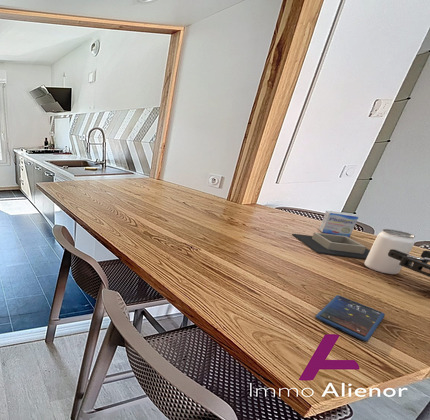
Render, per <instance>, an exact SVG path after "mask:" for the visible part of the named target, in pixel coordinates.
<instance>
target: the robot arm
mask: <svg viewBox="0 0 430 420" xmlns="http://www.w3.org/2000/svg"><path fill="white" fill-rule="evenodd" d="M388 256H389V257H392V258H394V259H397V260H399V261H401V262H400V263H399V265H401V266H402V268H403V267H404V268H406V269H408V270H410V271H413V272H416V273H419V274H421V275H423V276H425V277H429V278H430V264H429V263H430V250H422V252H421V254H420V257H419V256H414V255H412V254H409V255H408V254H406V253H403V252H400V251H398V250H395V249H391V250H390V251H389V253H388Z"/></svg>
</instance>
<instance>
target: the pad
mask: <svg viewBox="0 0 430 420" xmlns="http://www.w3.org/2000/svg"><path fill="white" fill-rule="evenodd" d="M291 236H293V237H294V238H295V239H297V240H298V241H299V242H301V243H303V244H304V245H305V246H307V247H308V248H309V249H311V250H312V251H313V252H314V253H316V254H319V255H326V256H327V255H328V256H335V257H342V258H349V259H350V258H351V259H358V260H364V261H365V260H366V258H367V256H368V254H369V252H370V250H371V249H368V248H367V246H366V245H363V244H362V243H360V242H358V241H357V240H354V239H352V238H350V237H347V236H341V235H332V234H326V233H322V232H313V235H309V234H300V233H299V234H298V233H292V234H291Z"/></svg>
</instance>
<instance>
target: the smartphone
mask: <svg viewBox="0 0 430 420" xmlns="http://www.w3.org/2000/svg"><path fill="white" fill-rule="evenodd" d="M385 315H386V314H385V313H384V312H383V311H380V310H377V309H375V308H373V307H370V306H367V305H364V304H362V303H359V302H357V301H355V300H353V299H349V298H347V297H345V296H341V295H339V294H336V295H335V296H334V297H333V298H332V299H331V300H330V301H329V302H328V303H327V304H326V305H325V306H324V307H323V308H322V309H321V310H320V311H319V312H318V313H317V314H316V315H315V319H317V320H319V321H321V322H323V323H325V324H326V325H329V326H332V327H333V328H335V329H337V330H340V331H342V332H344V333H346V334H347V335H349V336H352V337H354V338H357V339H359V340H361V341H363V342H368V341H369V340H370V339H371V337H372V335H373V334H374V333H375V332H376V330H377V328H378V326H379V325H380V324H381V323H382V321H383V320H384V318H385Z"/></svg>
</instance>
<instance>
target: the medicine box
mask: <svg viewBox="0 0 430 420" xmlns="http://www.w3.org/2000/svg"><path fill="white" fill-rule="evenodd" d="M358 219H359V217H358V215H357V214H354V213H348V212H340V211H332V210H325V213H324V214H323V217H322V220H321V223H320V225H319V228H318V230H319V231H320V233H323V234H332V235H341V236H347V237H349V238H350V237H351V235H352V233H353V230H354V228H355V226H356V224H357V222H358Z"/></svg>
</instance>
